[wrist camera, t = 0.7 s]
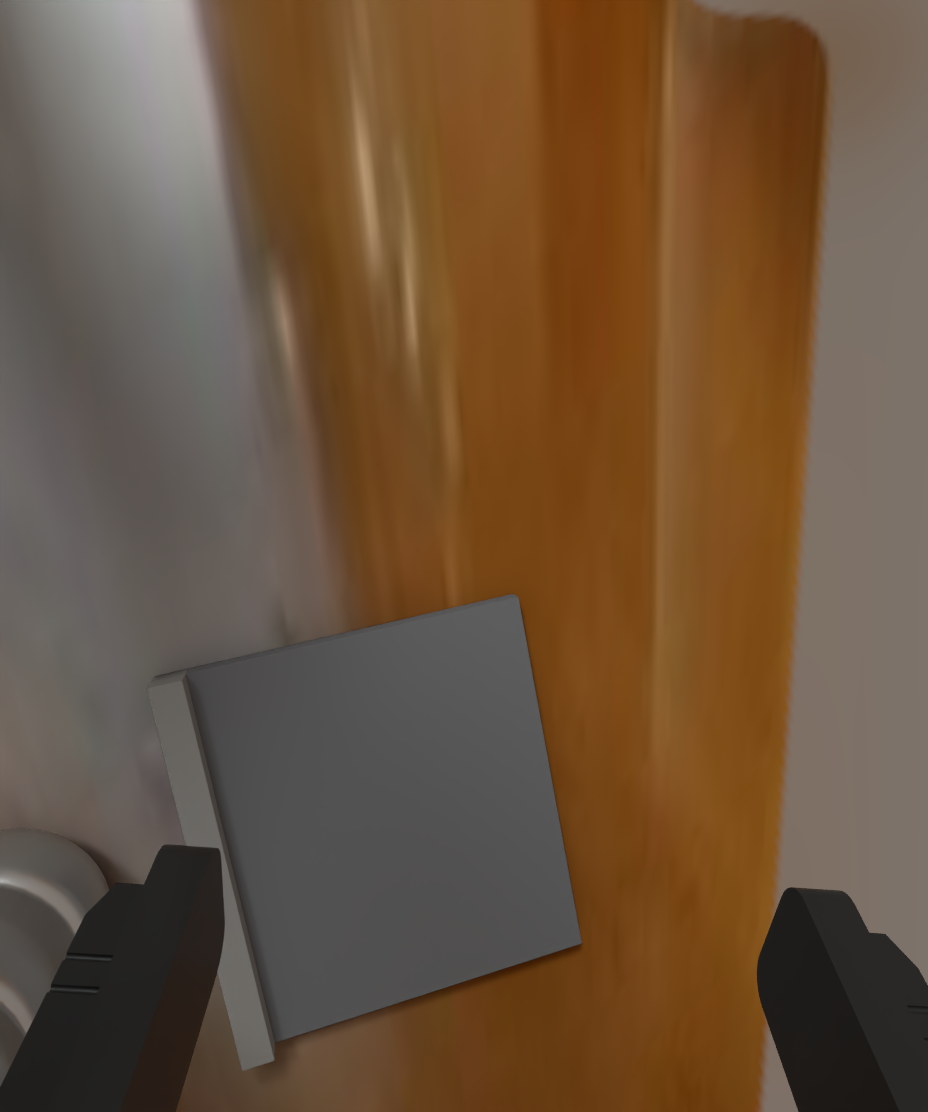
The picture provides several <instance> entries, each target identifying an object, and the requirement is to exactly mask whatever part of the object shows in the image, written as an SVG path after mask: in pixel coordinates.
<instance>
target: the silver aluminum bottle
mask: <svg viewBox="0 0 928 1112" xmlns="http://www.w3.org/2000/svg"><path fill="white" fill-rule="evenodd" d="M108 891H109V888H108V885H107V882H106V879H105V877H104V876H103V874H102V872H101V870H100V868H99V867H98V865H97V864H96V863H95V862H94V861H93V859H92V858H91V857H90V856H89V855H88V854H87V853H86V852H85V851H84V850H82V849H81V848H80V847H78V846H77V845H76V844H74V843H73V842H71V841H69V840H67V839H65V838H63V837H61V836H59V835H57V834H53V833H49V832H45V831H42V830H35V829H23V828H19V829H9V830H1V831H0V1086H1V1084H2V1082H3V1080H4V1078H5V1076H6V1074H7V1072H8V1070H9V1068H10V1066H11V1064H12V1062H13V1060H14V1058H15V1056H16V1054H17V1052H18V1050H19V1048H20V1046H21V1044H22V1042H23V1040H24V1037H25V1035H26V1033H27V1031H28V1029H29V1027H30V1025H31V1023H32V1021H33V1019H34V1017H35V1015H36V1013H37V1011H38V1009H39V1007H40V1005H41V1003H42V1001H43V999H44V997H45V995H46V993H47V992H49V991H50V988H51V983H52V981H53V979H54V977H55V975H56V973H57V971H58V969H59V967H60V965H61V962H62V960H65V958H66V954H67V953H66V952H67V950H68V948H69V946H70V944H71V942H72V940H73V938H74V936H75V934H76V932H77V930H78V928H79V926H80V924H81V922H82V920H83V918H84V916H85V914H86V913H87V912H88V911H89V910H90V909H91V908H92V907H93V906H94V905H95V904H96V903H97V902H98V901H99V900H100V899H101V898H102V897H103V896H104V895H105V894H106V893H107V892H108Z"/></svg>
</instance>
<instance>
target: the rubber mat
mask: <svg viewBox="0 0 928 1112" xmlns="http://www.w3.org/2000/svg"><path fill="white" fill-rule="evenodd" d="M147 692H148V696H149V700H150V704H151V708H152V712H153V716H154V720H155V724H156V728H157V732H158V736H159V740H160V744H161V748H162V752H163V756H164V760H165V764H166V768H167V772H168V776H169V780H170V784H171V788H172V792H173V796H174V800H175V804H176V808H177V812H178V816H179V820H180V824H181V828H182V832H183V836H184V840H185V844H186V846H197V847H212V848H219V850H220V853H221V863H222V880H223V897H224V914H225V932H224V941H223V948H222V954H221V959H220V963H219V967H218V971H217V972H218V976H219V980H220V984H221V988H222V992H223V996H224V1000H225V1004H226V1008H227V1012H228V1016H229V1020H230V1024H231V1028H232V1032H233V1036H234V1040H235V1044H236V1048H237V1052H238V1056H239V1060H240V1064H241V1068H242V1071H245V1070H248V1069H251V1068H254V1067H257V1066H260V1065H263V1064H266V1063H269V1062H272V1061H274V1060H275V1043H276V1042H279V1041H282V1040H285V1039H288V1038H291V1037H294V1036H297V1035H300V1034H304V1033H307V1032H310V1031H313V1030H316V1029H319V1028H322V1027H325V1026H328V1025H331V1024H334V1023H338V1022H341V1021H344V1020H347V1019H350V1018H353V1017H356V1016H359V1015H362V1014H365V1013H368V1012H371V1011H375V1010H378V1009H381V1008H384V1007H387V1006H390V1005H393V1004H396V1003H399V1002H402V1001H405V1000H409V999H412V998H415V997H418V996H421V995H424V994H427V993H430V992H433V991H436V990H439V989H443V988H446V987H449V986H452V985H455V984H458V983H461V982H464V981H467V980H470V979H473V978H477V977H480V976H483V975H486V974H489V973H492V972H495V971H498V970H501V969H504V968H507V967H511V966H514V965H517V964H520V963H523V962H526V961H529V960H532V959H535V958H538V957H541V956H545V955H548V954H551V953H554V952H557V951H560V950H563V949H566V948H569V947H572V946H575V945H579V944H582V942H581V936H580V931H579V926H578V920H577V915H576V909H575V904H574V898H573V893H572V887H571V882H570V876H569V871H568V866H567V860H566V855H565V849H564V844H563V838H562V833H561V827H560V822H559V816H558V811H557V806H556V800H555V795H554V789H553V784H552V778H551V773H550V767H549V762H548V756H547V751H546V746H545V740H544V735H543V729H542V724H541V718H540V713H539V707H538V702H537V697H536V691H535V686H534V680H533V675H532V669H531V664H530V658H529V653H528V647H527V642H526V637H525V631H524V626H523V620H522V615H521V609H520V604H519V598H518V596H516V595H514V594H511V595H506V596H502V597H498V598H493V599H489V600H485V601H480V602H476V603H472V604H467V605H463V606H459V607H454V608H450V609H446V610H441V611H437V612H433V613H428V614H424V615H420V616H415V617H411V618H407V619H402V620H398V621H394V622H389V623H385V624H381V625H376V626H372V627H368V628H363V629H359V630H354V631H350V632H346V633H341V634H337V635H333V636H328V637H324V638H320V639H315V640H311V641H307V642H302V643H298V644H294V645H289V646H285V647H281V648H276V649H272V650H268V651H263V652H259V653H255V654H250V655H246V656H242V657H237V658H233V659H229V660H224V661H220V662H216V663H211V664H207V665H203V666H198V667H194V668H190V669H185V670H181V671H177V672H172V673H168V674H164V675H159V676H155V677H154V678H153V680H152V681H151V683H150V684H149V686H148V688H147Z"/></svg>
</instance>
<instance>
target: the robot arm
mask: <svg viewBox="0 0 928 1112" xmlns="http://www.w3.org/2000/svg"><path fill="white" fill-rule="evenodd" d="M224 932H225V914H224V897H223V880H222V863H221V853H220V850H219V848H212V847H197V846H181V845H164V846H162V848H161V849H160V850H159V852H158V854H157V856H156V858H155V861H154V863H153V865H152V868H151V870H150V872H149V874H148V877H147V879H146V881H145V884H144V885H140V884H125V883H116V884H115V885H114V886H113V887H112V888H111V889H110V890H109V891H108V892H107V893H106V894H105V895H104V896H103V897H102V898H101V899H100V900H99V901H98V902H97V903H96V904H95V905H94V906H93V907H92V908H91V909H90V910H89V911H88V912H87V913H86V914H85V916H84V918H83V920H82V922H81V924H80V926H79V928H78V930H77V932H76V934H75V936H74V938H73V940H72V942H71V944H70V946H69V948H68V950H67V952H66V953H67V954H66V958H65V960H62V962H61V965H60V967H59V969H58V971H57V973H56V975H55V977H54V979H53V981H52V983H51V988H50V991H49V992H47V993H46V995H45V997H44V999H43V1001H42V1003H41V1005H40V1007H39V1009H38V1011H37V1013H36V1015H35V1017H34V1019H33V1021H32V1023H31V1025H30V1027H29V1029H28V1031H27V1033H26V1035H25V1037H24V1040H23V1042H22V1044H21V1046H20V1048H19V1050H18V1052H17V1054H16V1056H15V1058H14V1060H13V1062H12V1064H11V1066H10V1068H9V1070H8V1072H7V1074H6V1076H5V1078H4V1080H3V1082H2V1084H1V1086H0V1112H176V1108H177V1105H178V1102H179V1098H180V1095H181V1092H182V1088H183V1085H184V1082H185V1078H186V1075H187V1072H188V1068H189V1065H190V1062H191V1058H192V1055H193V1052H194V1048H195V1045H196V1041H197V1038H198V1035H199V1031H200V1028H201V1025H202V1021H203V1018H204V1015H205V1011H206V1008H207V1005H208V1001H209V998H210V995H211V991H212V988H213V985H214V981H215V978H216V975H217V971H218V967H219V963H220V959H221V954H222V948H223V941H224ZM757 983H758V991H759V997H760V1001H761V1004H762V1008H763V1011H764V1013H765V1016H766V1019H767V1022H768V1025H769V1028H770V1031H771V1034H772V1036H773V1039H774V1042H775V1045H776V1048H777V1051H778V1054H779V1056H780V1059H781V1062H782V1065H783V1068H784V1071H785V1074H786V1077H787V1080H788V1083H789V1085H790V1088H791V1091H792V1094H793V1097H794V1100H795V1103H796V1106H797V1108H798V1111H799V1112H928V985H927V983H926V982H925V980H924V978H923V976H922V975H921V973H920V971H919V969H918V968H917V967H916V966H915V965H914V964H913V962H911V960H910V959H909V958H908V957H907V956H906V955H905V954H904V953H903V952H902V951H901V950H900V949H899V948H898V947H897V946H896V945H895V944H894V943H893V942H892V941H891V940H890V939H889V937H888V936H887V935H886V934H878V933H869V932H868V929H867V927H866V926H865V924H864V922H863V920H862V918H861V916H860V914H859V912H858V910H857V908H856V906H855V904H854V903H853V901H852V899H851V898H850V897H849V896H848V895H847V894H846V893H845V892H843V891H837V890H822V889H807V888H788V889H786V890H785V891H784V893H783V895H782V897H781V900H780V902H779V905H778V908H777V910H776V913H775V915H774V918H773V921H772V923H771V926H770V929H769V931H768V934H767V937H766V939H765V942H764V945H763V947H762V950H761V953H760V955H759V959H758V966H757Z"/></svg>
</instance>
